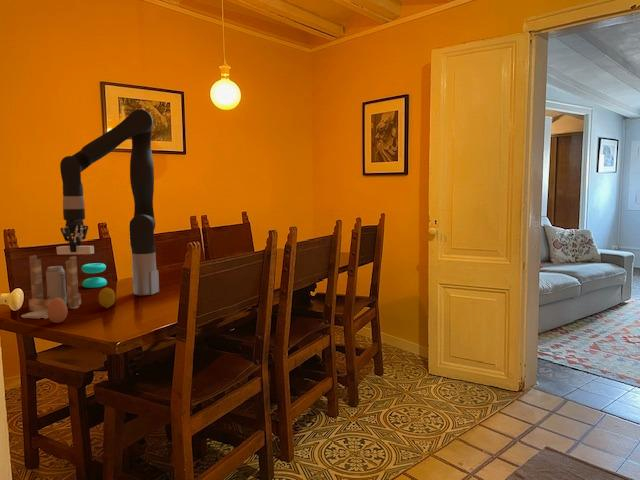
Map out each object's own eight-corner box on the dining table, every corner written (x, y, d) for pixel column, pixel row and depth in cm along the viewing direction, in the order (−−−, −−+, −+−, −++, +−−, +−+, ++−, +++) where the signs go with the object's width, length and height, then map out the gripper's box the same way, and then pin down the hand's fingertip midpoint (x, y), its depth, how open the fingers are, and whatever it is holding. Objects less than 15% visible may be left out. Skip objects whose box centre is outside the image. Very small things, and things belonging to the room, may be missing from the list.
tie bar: (94, 253, 179) (93, 245, 179) (90, 254, 177) (89, 246, 176) (61, 253, 181) (60, 246, 181) (57, 254, 179) (56, 246, 178)
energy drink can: (50, 305, 169) (47, 266, 167) (68, 304, 171) (65, 265, 169) (46, 309, 163) (43, 268, 162) (65, 308, 165) (62, 267, 164)
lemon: (119, 307, 167) (118, 286, 166) (107, 310, 162) (106, 289, 161) (107, 305, 169) (106, 284, 168) (95, 309, 163) (94, 287, 163)
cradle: (87, 304, 171) (84, 254, 169) (66, 312, 160) (62, 259, 158) (46, 302, 174) (43, 253, 172) (23, 310, 162) (19, 258, 160)
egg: (61, 319, 151) (60, 294, 150) (71, 321, 148) (70, 297, 147) (44, 323, 146) (42, 298, 145) (54, 326, 143) (52, 300, 142)
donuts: (76, 266, 198) (90, 262, 208) (77, 288, 199) (91, 283, 209) (97, 266, 197) (110, 262, 207) (98, 288, 198) (111, 284, 208)
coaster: (64, 311, 160) (63, 309, 160) (45, 318, 152) (45, 316, 151) (41, 310, 162) (41, 308, 162) (21, 317, 153) (21, 315, 153)
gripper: (70, 208, 170) (72, 254, 171) (93, 207, 183) (95, 249, 185) (52, 208, 171) (54, 253, 172) (77, 207, 184) (79, 249, 186)
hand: (76, 251), depth 179 cm, fingers closed on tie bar, 2 cm apart
